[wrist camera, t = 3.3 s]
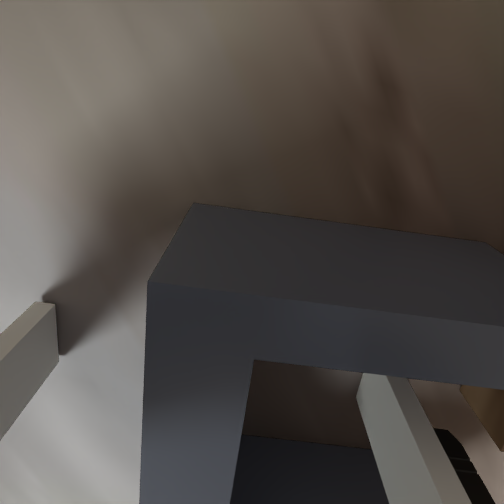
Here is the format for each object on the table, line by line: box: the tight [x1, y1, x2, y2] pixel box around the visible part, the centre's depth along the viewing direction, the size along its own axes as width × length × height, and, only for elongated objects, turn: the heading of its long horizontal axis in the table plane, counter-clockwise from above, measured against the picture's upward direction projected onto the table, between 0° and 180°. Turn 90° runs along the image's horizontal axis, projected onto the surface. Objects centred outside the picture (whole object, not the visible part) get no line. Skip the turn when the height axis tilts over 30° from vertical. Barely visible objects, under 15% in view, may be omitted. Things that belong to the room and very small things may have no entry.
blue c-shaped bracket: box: [139, 203, 504, 504], centre depth 13 cm, size 10×12×6 cm
